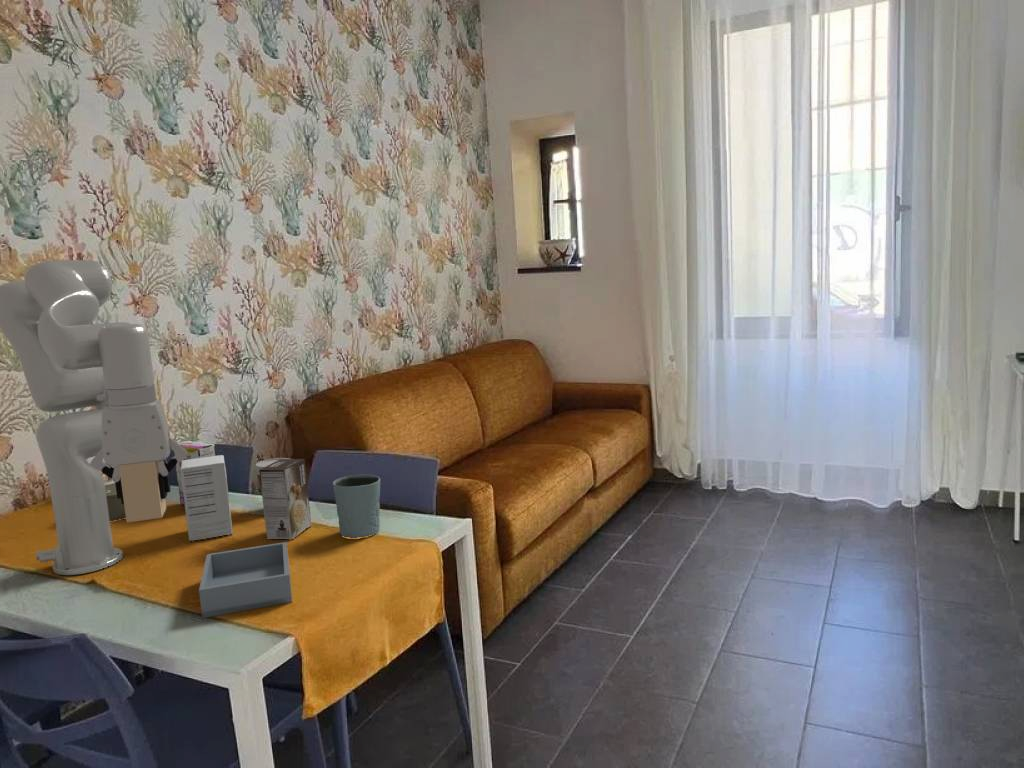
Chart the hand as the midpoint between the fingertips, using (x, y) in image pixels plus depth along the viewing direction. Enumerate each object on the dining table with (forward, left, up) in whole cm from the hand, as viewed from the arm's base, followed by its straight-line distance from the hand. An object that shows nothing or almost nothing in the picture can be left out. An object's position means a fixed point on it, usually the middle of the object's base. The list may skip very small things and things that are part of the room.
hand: (144, 498), depth 128 cm
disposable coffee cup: (+21, +48, -20) cm, 56 cm away
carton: (0, 0, -3) cm, 3 cm away
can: (-18, +63, -20) cm, 68 cm away
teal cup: (+38, +21, -20) cm, 48 cm away
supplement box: (+6, +37, -20) cm, 42 cm away
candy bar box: (+2, +61, -20) cm, 64 cm away
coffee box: (+23, +28, -20) cm, 41 cm away
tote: (+15, -1, -19) cm, 25 cm away
